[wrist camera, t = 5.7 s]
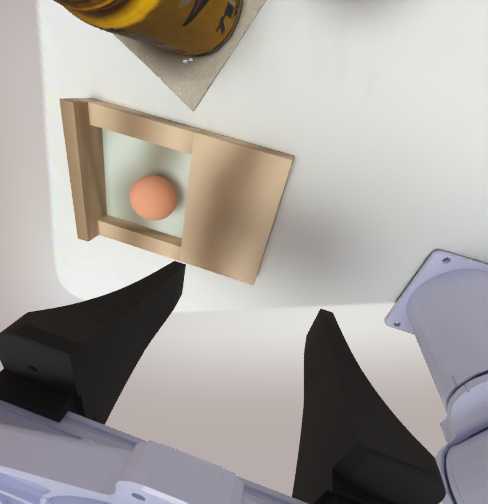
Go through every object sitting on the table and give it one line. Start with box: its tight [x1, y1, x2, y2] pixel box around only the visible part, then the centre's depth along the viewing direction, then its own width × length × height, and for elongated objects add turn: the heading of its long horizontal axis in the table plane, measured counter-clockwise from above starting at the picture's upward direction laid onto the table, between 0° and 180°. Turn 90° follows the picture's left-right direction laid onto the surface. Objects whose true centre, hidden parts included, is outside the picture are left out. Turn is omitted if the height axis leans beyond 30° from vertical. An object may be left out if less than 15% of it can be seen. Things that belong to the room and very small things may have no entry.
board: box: [60, 98, 294, 285], centre depth 22 cm, size 16×11×3 cm
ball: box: [130, 175, 177, 221], centre depth 21 cm, size 4×4×4 cm
